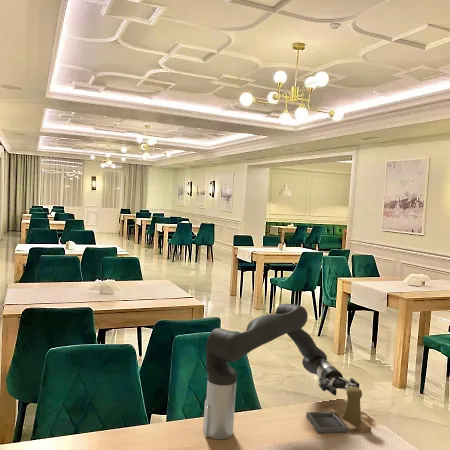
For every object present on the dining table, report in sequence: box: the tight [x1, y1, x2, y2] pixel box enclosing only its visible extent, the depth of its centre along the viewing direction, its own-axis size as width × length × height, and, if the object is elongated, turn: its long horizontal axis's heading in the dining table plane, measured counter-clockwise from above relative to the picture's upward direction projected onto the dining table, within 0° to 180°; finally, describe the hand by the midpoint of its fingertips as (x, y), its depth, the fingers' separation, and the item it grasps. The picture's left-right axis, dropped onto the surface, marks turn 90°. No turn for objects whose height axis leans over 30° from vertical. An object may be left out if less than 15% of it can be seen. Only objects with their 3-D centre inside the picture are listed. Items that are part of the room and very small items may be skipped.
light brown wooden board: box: [333, 411, 372, 434], centre depth 165 cm, size 8×12×2 cm, turn 10°
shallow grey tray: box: [305, 411, 348, 434], centre depth 163 cm, size 10×12×2 cm
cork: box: [343, 386, 363, 423], centre depth 165 cm, size 6×6×11 cm
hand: (346, 392), depth 171 cm, fingers open, 8 cm apart
